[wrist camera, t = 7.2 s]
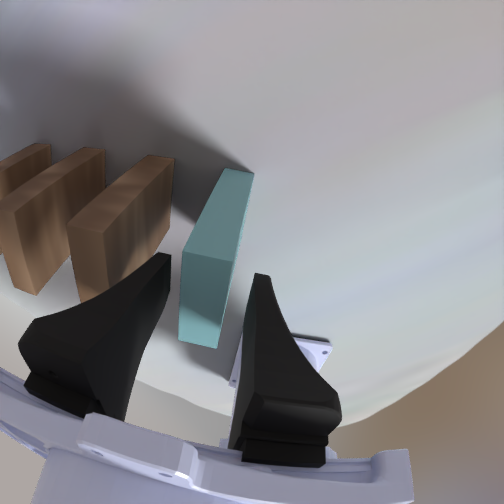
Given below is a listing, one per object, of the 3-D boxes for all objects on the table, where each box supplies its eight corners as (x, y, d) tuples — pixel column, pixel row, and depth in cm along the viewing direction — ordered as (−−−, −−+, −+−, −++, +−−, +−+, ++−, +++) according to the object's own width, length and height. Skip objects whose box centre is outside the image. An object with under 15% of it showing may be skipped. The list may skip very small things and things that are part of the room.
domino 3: (174, 158, 18) (102, 233, 11) (169, 227, 21) (115, 322, 13) (148, 154, 18) (65, 224, 10) (145, 222, 21) (83, 312, 13)
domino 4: (254, 173, 18) (233, 261, 11) (240, 242, 21) (216, 348, 13) (225, 168, 18) (182, 250, 11) (214, 237, 21) (178, 339, 13)
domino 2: (105, 149, 18) (13, 212, 10) (106, 215, 21) (36, 295, 13) (83, 147, 18) (-9, 207, 10) (86, 211, 21) (14, 287, 13)
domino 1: (50, 144, 18) (-40, 199, 10) (55, 204, 20) (-18, 273, 13) (34, 143, 18) (-54, 196, 10) (39, 201, 20) (-33, 266, 13)
